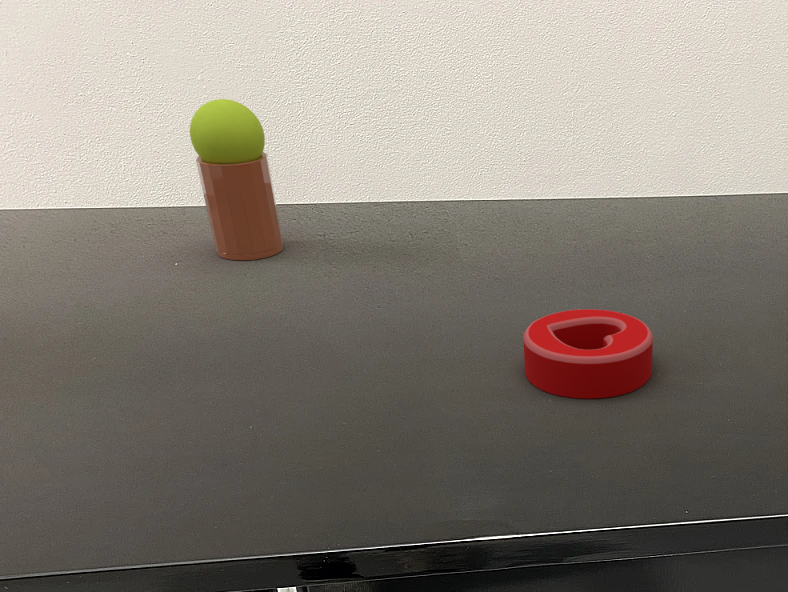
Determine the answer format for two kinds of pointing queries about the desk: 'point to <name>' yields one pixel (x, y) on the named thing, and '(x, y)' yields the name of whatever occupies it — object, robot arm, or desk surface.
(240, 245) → the cup
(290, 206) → the desk surface
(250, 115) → the ball
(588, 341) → the decorative ornament
